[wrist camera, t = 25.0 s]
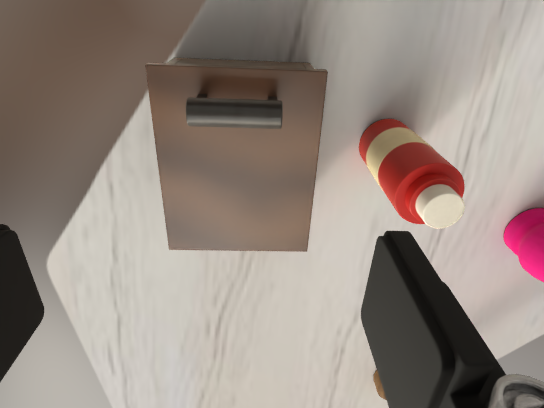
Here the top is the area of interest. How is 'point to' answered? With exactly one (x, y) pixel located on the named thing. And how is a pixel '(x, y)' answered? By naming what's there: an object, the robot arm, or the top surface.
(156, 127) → the bread box lid
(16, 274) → the robot arm
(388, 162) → the ketchup bottle
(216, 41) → the top surface
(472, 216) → the top surface
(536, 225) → the pepper mill
